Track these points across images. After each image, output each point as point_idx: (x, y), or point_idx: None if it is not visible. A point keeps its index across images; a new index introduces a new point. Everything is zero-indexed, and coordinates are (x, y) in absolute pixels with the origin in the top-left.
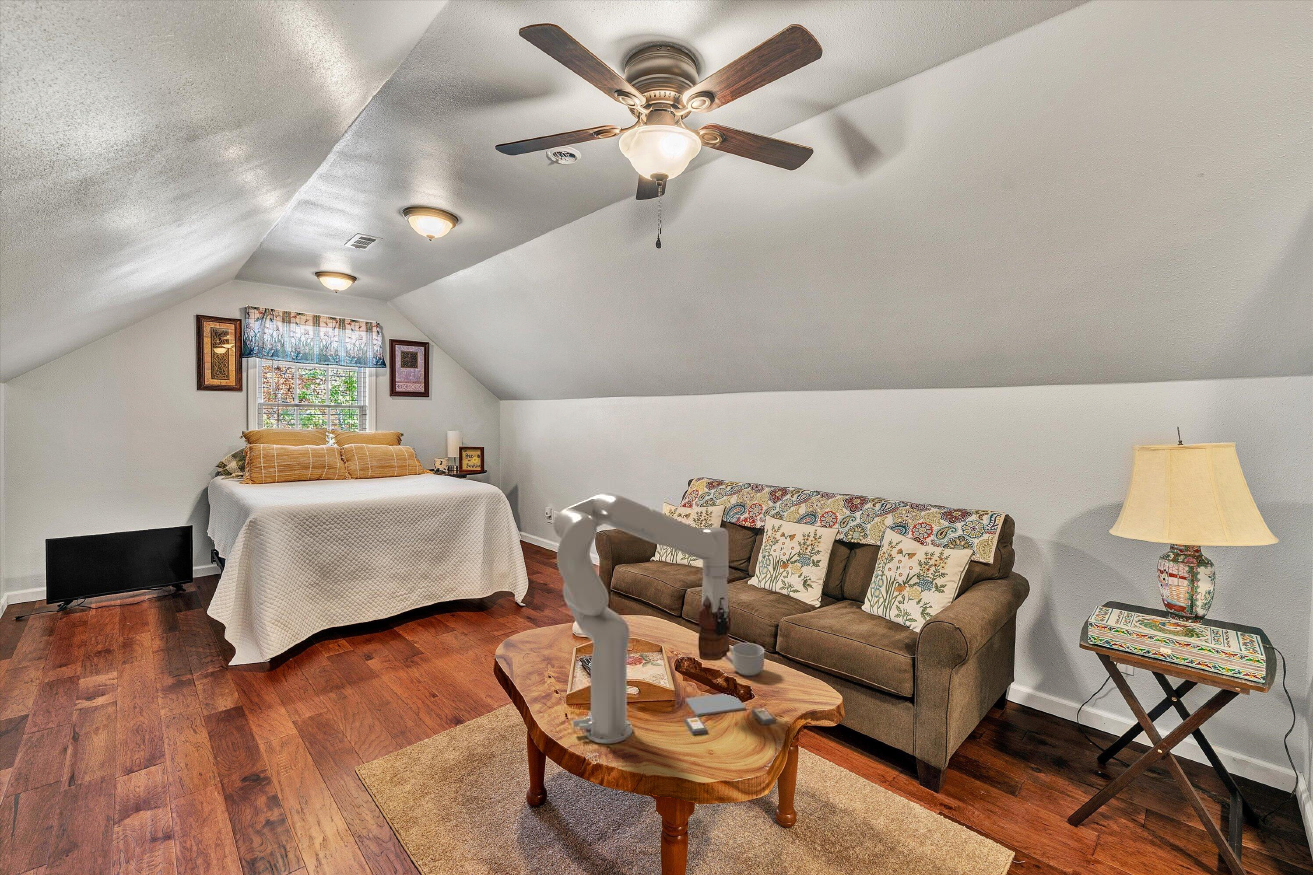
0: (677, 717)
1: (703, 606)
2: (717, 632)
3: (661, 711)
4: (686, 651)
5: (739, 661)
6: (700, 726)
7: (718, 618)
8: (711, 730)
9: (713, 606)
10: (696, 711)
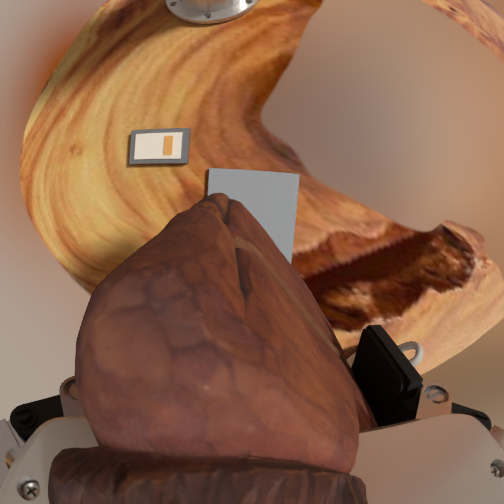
0: (219, 121)
1: (135, 432)
2: None
3: (261, 97)
4: (483, 283)
5: None
6: (140, 151)
7: (64, 395)
8: (139, 177)
9: (13, 467)
10: (221, 172)
